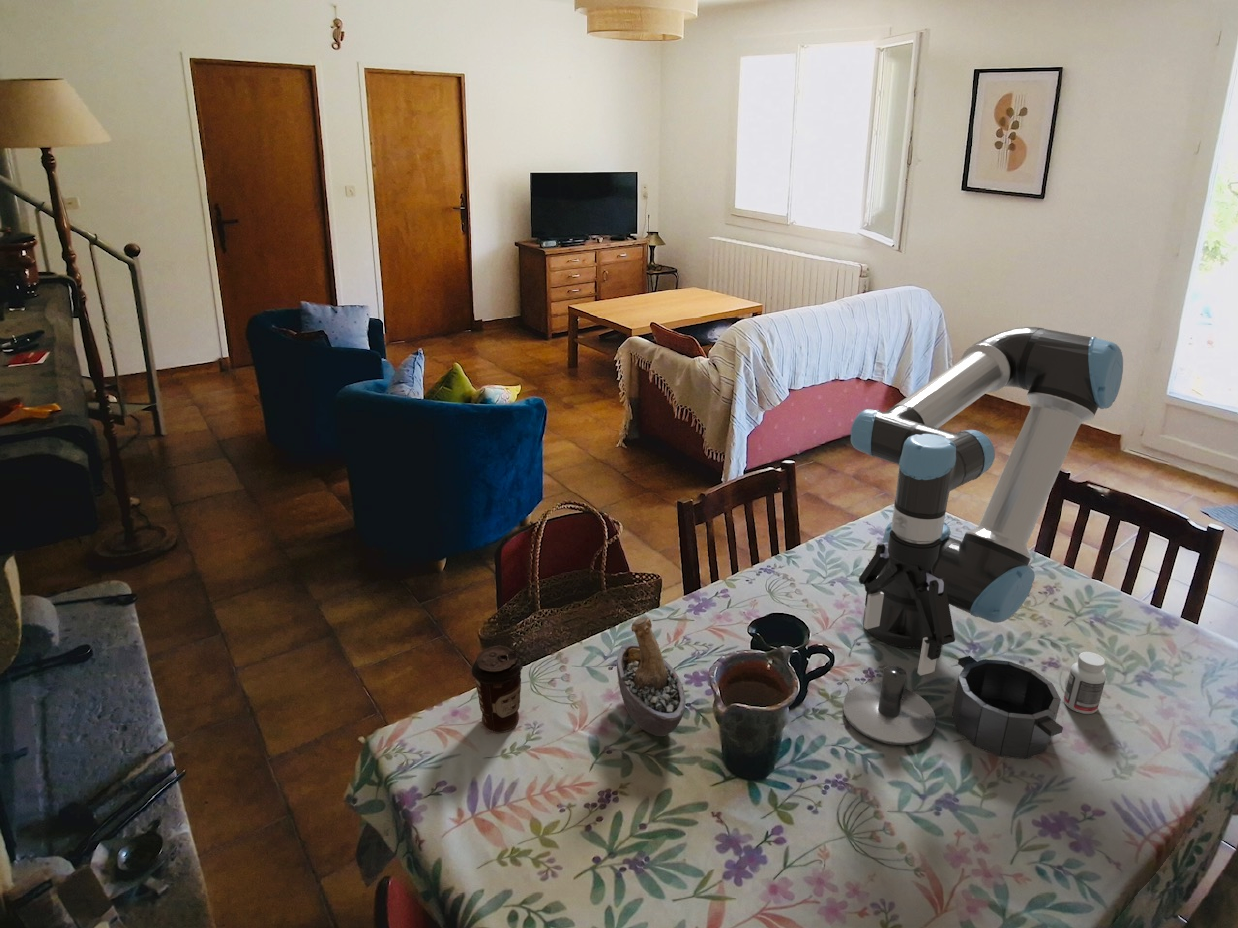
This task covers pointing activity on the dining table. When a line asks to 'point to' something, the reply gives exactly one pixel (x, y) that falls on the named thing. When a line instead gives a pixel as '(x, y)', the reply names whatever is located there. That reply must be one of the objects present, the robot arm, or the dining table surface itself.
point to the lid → (889, 710)
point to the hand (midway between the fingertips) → (897, 648)
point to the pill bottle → (1085, 683)
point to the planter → (649, 683)
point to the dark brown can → (498, 687)
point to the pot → (1005, 708)
